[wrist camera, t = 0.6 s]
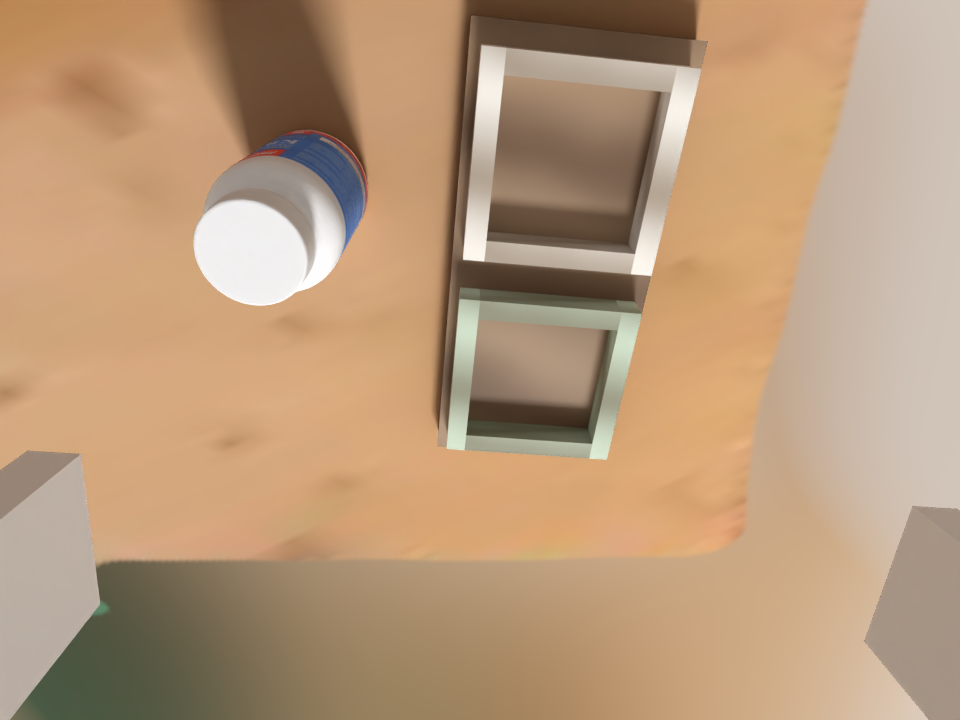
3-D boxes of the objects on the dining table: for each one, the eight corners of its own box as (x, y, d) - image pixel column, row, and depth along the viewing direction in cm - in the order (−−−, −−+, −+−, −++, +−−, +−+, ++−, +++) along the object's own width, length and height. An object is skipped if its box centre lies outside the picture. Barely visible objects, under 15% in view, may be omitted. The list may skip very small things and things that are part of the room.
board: (470, 15, 27) (471, 15, 24) (696, 40, 28) (720, 42, 25) (438, 431, 37) (436, 462, 35) (601, 442, 38) (611, 474, 35)
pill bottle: (307, 101, 28) (238, 138, 20) (392, 189, 30) (362, 256, 22) (233, 183, 30) (141, 249, 22) (319, 261, 32) (265, 349, 24)
